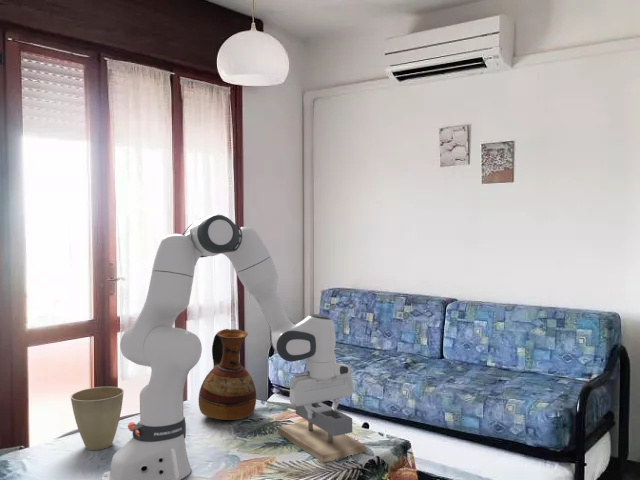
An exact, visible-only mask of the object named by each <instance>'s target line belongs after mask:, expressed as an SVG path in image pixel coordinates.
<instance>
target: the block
mask: <svg viewBox="0 0 640 480" xmlns="http://www.w3.org/2000/svg"><path fill="white" fill-rule="evenodd" d="M331 407H332V406H329V405H327V404H326V403H323V402H318V403H313V404H312V407H310V409H311V411H313V412H315V418H312V419H310V418H308V412H307V410H306V409H305V407H304V405H302V406H295V415H297V416H299V417H301V418H302V419H304V420H305V421H309V422H311V423H312V424H314V425H316V426H317V427H319V428H321V429H323V430H324V431H326V432H328V433H329V434H331V435H333V436H338V435H342V434H345V435H347V434H351V433H353V417H351V416H348V415H346V414H345V413H343V412H342V411H339V410H338V409H337V410H335V409H333V408H331Z"/></svg>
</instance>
